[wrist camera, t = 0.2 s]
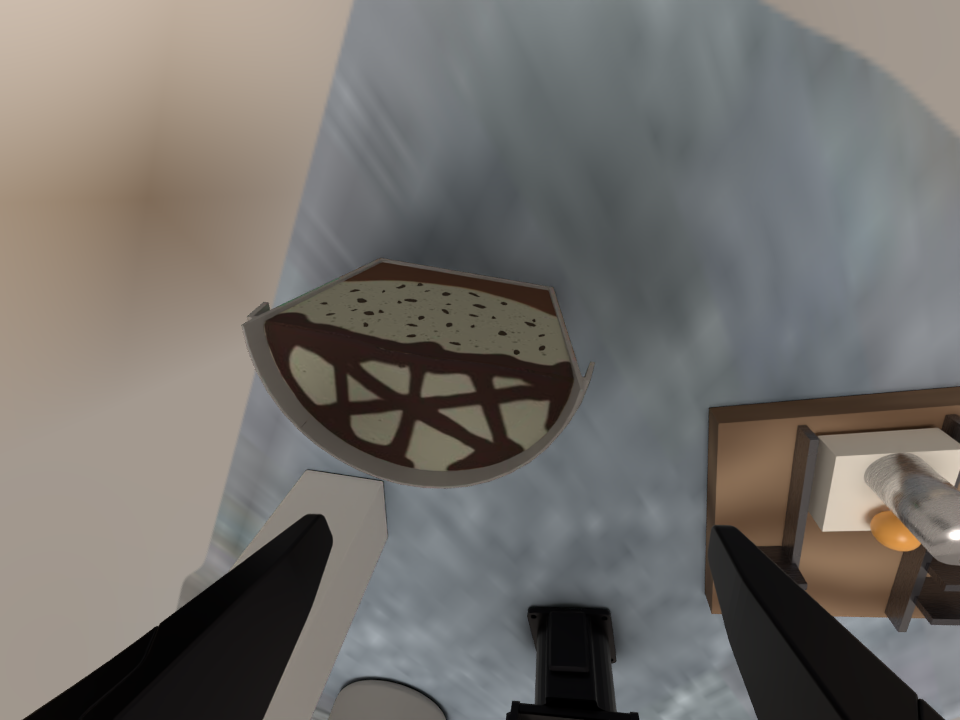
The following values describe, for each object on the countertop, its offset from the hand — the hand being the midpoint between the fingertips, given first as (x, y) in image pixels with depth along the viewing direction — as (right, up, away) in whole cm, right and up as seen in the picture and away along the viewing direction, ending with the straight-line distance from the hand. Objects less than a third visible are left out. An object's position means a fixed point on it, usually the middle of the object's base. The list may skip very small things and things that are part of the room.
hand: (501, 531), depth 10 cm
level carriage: (+20, -2, +12) cm, 23 cm away
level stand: (+21, -5, +15) cm, 26 cm away
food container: (-2, +6, +14) cm, 15 cm away
